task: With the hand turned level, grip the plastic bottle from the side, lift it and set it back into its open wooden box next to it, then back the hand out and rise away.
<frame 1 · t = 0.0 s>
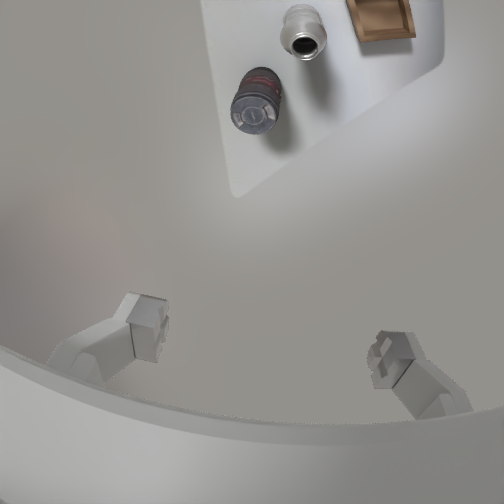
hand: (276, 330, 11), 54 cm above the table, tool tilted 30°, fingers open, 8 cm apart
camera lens: (262, 80, 54), on the table
plastic bottle: (302, 17, 41), on the table
open wooden box: (376, 6, 36), on the table
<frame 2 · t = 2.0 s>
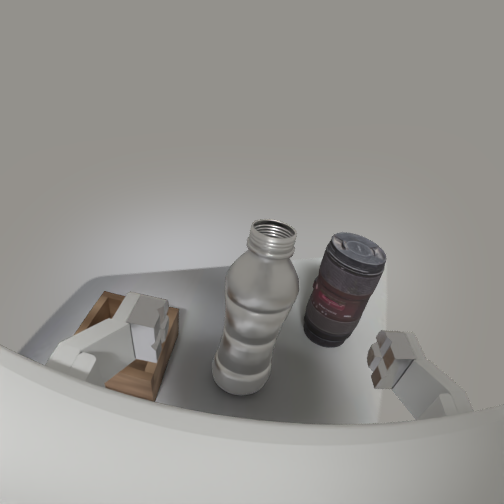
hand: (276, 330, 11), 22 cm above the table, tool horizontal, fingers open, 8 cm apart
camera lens: (324, 333, 44), on the table
plastic bottle: (238, 381, 34), on the table
open wooden box: (127, 355, 33), on the table
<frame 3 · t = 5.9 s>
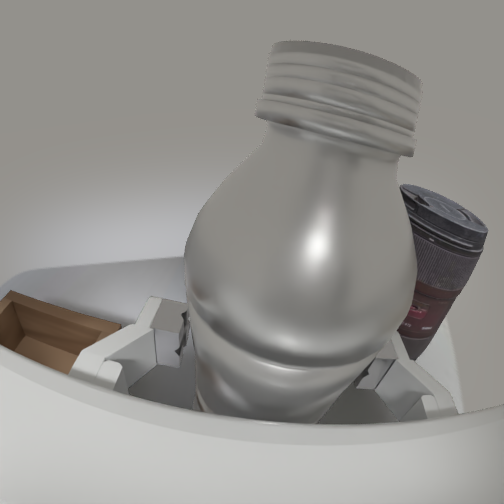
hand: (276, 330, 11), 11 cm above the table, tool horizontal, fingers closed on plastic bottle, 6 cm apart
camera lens: (374, 354, 26), on the table
plastic bottle: (236, 459, 16), on the table, touching gripper
open wooden box: (41, 402, 15), on the table
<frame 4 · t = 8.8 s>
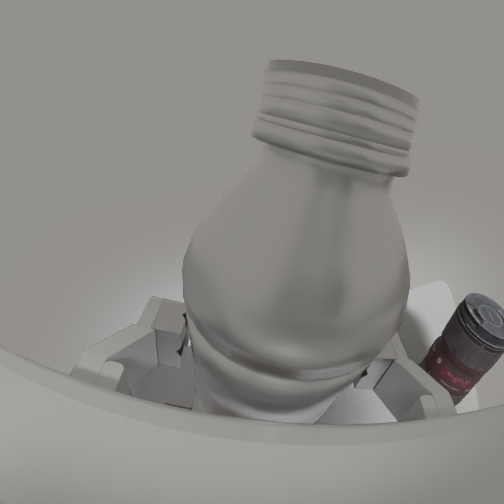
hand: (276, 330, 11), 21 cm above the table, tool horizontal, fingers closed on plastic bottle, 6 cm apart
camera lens: (425, 400, 31), on the table
plastic bottle: (235, 458, 16), point 9 cm above the table, touching gripper
when the fingers open (13 cm above the table, at t = 11.3 s): plastic bottle stays where it is, resting on open wooden box.
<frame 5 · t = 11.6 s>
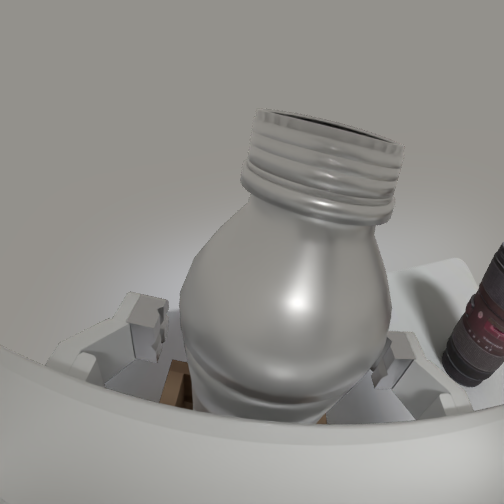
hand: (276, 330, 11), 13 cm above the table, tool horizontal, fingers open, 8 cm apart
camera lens: (461, 368, 27), on the table
plastic bottle: (232, 465, 16), point 1 cm above the table, touching open wooden box
open wooden box: (233, 468, 17), on the table
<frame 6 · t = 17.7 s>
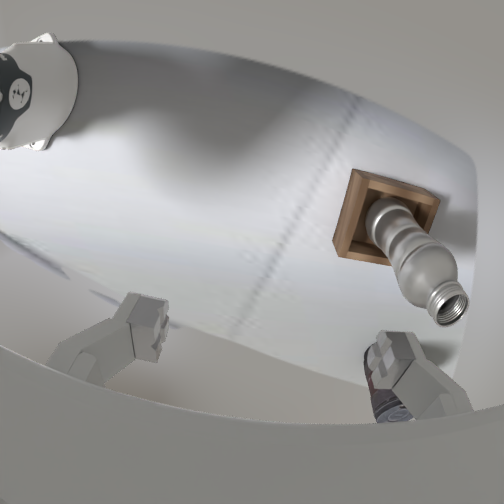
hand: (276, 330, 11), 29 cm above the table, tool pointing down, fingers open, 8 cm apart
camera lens: (379, 351, 52), on the table
plastic bottle: (382, 215, 38), point 1 cm above the table, touching open wooden box
open wooden box: (380, 214, 39), on the table
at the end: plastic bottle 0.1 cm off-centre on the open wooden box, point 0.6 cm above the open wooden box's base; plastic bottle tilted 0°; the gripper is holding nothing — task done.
